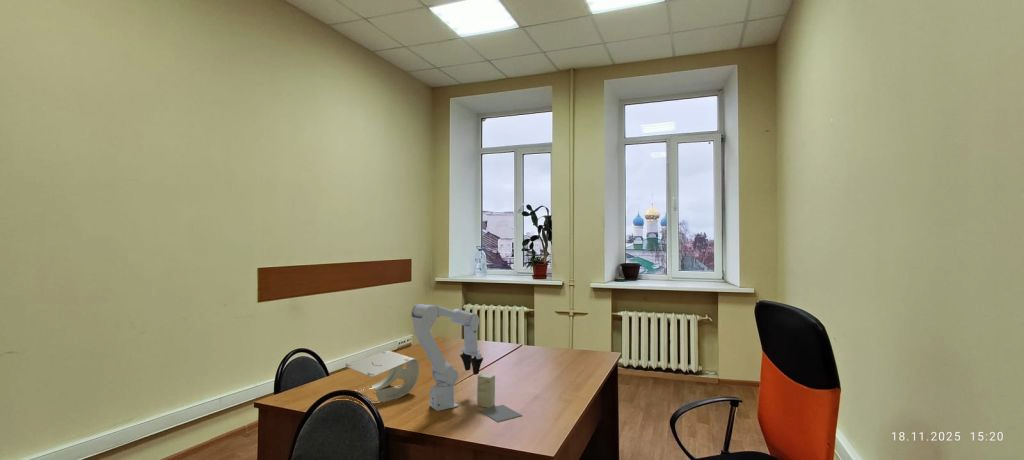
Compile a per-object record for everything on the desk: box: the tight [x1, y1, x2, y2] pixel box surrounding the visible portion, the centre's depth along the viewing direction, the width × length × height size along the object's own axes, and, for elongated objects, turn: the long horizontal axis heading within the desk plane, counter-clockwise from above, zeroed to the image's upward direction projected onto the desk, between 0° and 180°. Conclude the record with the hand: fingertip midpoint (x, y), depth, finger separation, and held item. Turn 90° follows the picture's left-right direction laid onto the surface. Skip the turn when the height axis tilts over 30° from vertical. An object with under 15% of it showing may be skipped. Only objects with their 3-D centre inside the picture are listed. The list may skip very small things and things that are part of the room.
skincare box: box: [476, 372, 496, 409], centre depth 188 cm, size 6×4×12 cm
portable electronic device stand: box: [345, 350, 420, 403], centre depth 206 cm, size 26×24×16 cm
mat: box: [479, 404, 523, 423], centre depth 179 cm, size 11×14×1 cm
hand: (471, 372), depth 200 cm, fingers open, 7 cm apart
